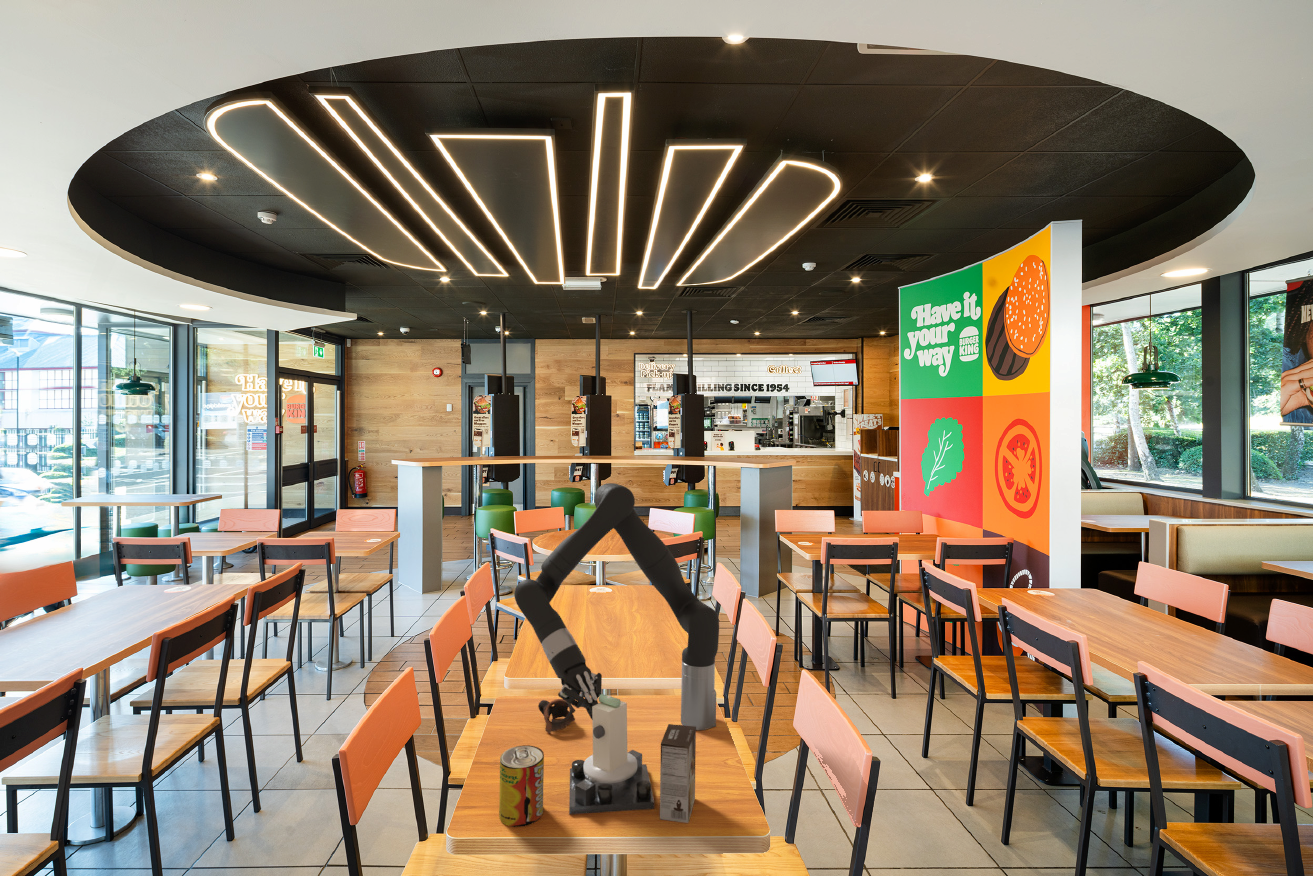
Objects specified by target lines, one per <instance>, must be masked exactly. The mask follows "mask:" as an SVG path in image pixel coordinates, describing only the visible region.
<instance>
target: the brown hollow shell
mask: <svg viewBox="0 0 1313 876" xmlns="http://www.w3.org/2000/svg"><path fill="white" fill-rule="evenodd" d="M537 708H538V710H539V711H540V713H541V714H542V715H543V719H544V721H545V728H544V729H545V731H546V732H547V733H548V734H551V733H552V732H555V731H556V732H557V731H560V730H564V729H566V727H568V726H570V724H571V723H572V722H574V721H576V718H575V716H574V715H575V714H574V713H575V712H576V709H575V708H574V706H573V705H572V704H570V703H568V702H567V701H565V700H564V699H562V698H558V699H554V700H551V701H548V700H544V699H542V700H540V702H539V703H538V706H537ZM550 717H551V718H552V719H551V720H550ZM559 718H561V719H559Z"/></svg>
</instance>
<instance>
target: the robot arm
mask: <svg viewBox="0 0 1313 876" xmlns="http://www.w3.org/2000/svg"><path fill="white" fill-rule="evenodd" d="M633 493H634V492H632V491H631V489H629V487H626V486H624V485H622V484H618V483H614V482H612V483H611V482H610V483H609V482H608V483H604V484H602V485H600V486H599V487H598V488H597V489H596V491H595V494H594V500H593V501H594V506H595V510H594V511H593V513H592V514H591V515H590V517H589V518H588V519H587V520H585V522H583V524H582V525H581V526H580V527H579V528H577V529H576V530H575V531H573V532H572V533H571V534H570V535H568V536H567V537H566V538H564V539H563V540H562V541H561V542H560V543H559V544H558V545H557V546H556V548H554V549H553V551H552V552H551V553H550V554H549V555H548V556H547V557H546V558H545V560H544V561H543V563H541V569H540V570H541V572H540V573H539V575H538V576H537V578H536V579H535V580H534V579H532V578H531V579H530V578H527V579H523V580H521V581H520V582H519V583H517V584H516V586H515V588H514V589H515V590H514V600H515V603H516V605H517V607H518V608H519V611H521V613H522V615H523V616H524V618H525V619H526V620H527V621H528V622H529V624H530V625H531V627H532V628H533V631H534V633H535V635H536V637H537V639H538V640H539V643H540V644H541V647H542V649H543V652H544V654H545V656H546V658H547V659H548V660H547V661H548V663H550V665H551V668H552V669H553V671H554V674H555V676H556V677H557V678H558V679H560V683H561V685H562V686H561V690H560V691H559V692H558V694H557V695H558V697H559V699H564V700H565V701H567V702H568V703H570V704H571V705H572V707H575V708H576V709H580V708H583V709H585V710H586V711H587V714H588V715H589V717H590V720H592V706H594V705H596V704H598V703H599V696H600V695H601V694H602V686H603V685H602V682H603V681H602V679H603V678H602V677H603V675H602V674H601V672H598V673H597V674H596V673H593V672H592V670H591V668H589V667H588V666H587V664H586V663H587V662H586V661H587V660H586V658H585V656H584V654H583V652H582V651H581V649H580V647H579V645H578V644H577V642H576V639H575V638H574V636H573V635H572V634H571V632H570V631H569V629H568V628H567V626H566V624H565V622H564V621H563V619H562V617H561V615H560V614H559V613H558V612H557V611H556V610H555V609H554V607H552V605H551V602H552V600H553V599H554V597H555V595H556V594H557V592H558V590H559V589H560V587H561V586H562V584H563V582H564V580H566V579H567V577H568V576H569V575H570V574H571V573H572V572H573V570H574V569H575V568H576V567H577V566H578V565H579V563H580V562H581V561H582V560H583V559H584V558H585V556H586V555H588V553H590V551H591V550H592V549H593V548H594V547H595V546H596V545H597V544H598V543H599V542H600V541H601V540H602V539H603V538H605V536H606V535H608V533H610V532H611V531H612V530H614V531H615V532H616V533H617V534H618V536H619V537H620V539H621V540H622V542H623V543H624V545H625V547H626V548H627V550H628V552H629V554H630V555H631V556H632V558H633V559H634V561H635V562H636V563H637V566H638V567H639V569H640V570H641V571H642V573H643V574H644V575H645V577H646V578H647V580H648V581H649V582H650V583H651V585H652V586H653V587H654V588H655V589H656V590H657V591H658V593H659V594H660V595H661V596H662V597H663V599H664V600H665V601H666V602H667V604H668V606H669V607H670V609H671V611H672V613H673V615H674V616H675V619H677V622H678V623H679V626H680V627H681V628H682V630H683V631H685V632H686V633H688V635H687V647H685V648H684V649H683V650H682V652H681V686H680V687H681V692H680V693H681V695H680V696H681V697H680V701H681V703H680V725H685V726H695V727H696V731H705V730H708V729H711V728H716V726H717V691H716V689H715V685H716V684H715V681H716V680H715V679H716V676H715V674H716V671H715V669H716V668H715V667H716V664H715V663H716V656H717V654H718V650H719V641H720V640H719V638H720V637H719V636H720V620H719V616H718V613H717V612H716V610H715V609H713V608H712V607H710V606H709V605H708V604H705V603H704V602H702V601H701V600H700V599H699V598H698V597H697V596H696V595H695V594H694V592H693V591H692V590H691V589H690V588H689V586H688V584H687V583H686V582H685V580H684V577H683V574H682V571H681V568H680V565H679V563H678V562H677V560H676V558H675V556H674V555H673V553H672V552H671V551H670V549H669V548H668V546H667V545H666V544H665V543H664V541H663V540H661V538H660V537H659V536H658V535H657V534H656V533H655V532H654V531H653V530H652V529H651V528H650V527H649V526H648V525H647V524H646V523H645V522H644V521H643V520H642V518H640V515H638V514H637V512H636V510H635V509H634V507H635V505H636V504H635V503H636V502H635V496H634V494H633Z"/></svg>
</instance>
